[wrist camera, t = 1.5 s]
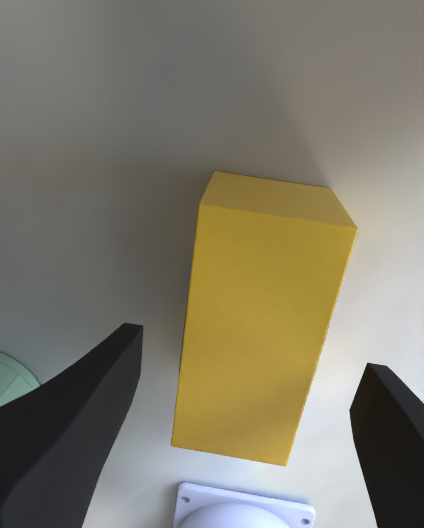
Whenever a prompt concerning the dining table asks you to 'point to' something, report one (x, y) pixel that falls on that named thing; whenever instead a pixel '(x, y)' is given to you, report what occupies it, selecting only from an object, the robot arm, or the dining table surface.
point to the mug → (14, 379)
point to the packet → (257, 313)
